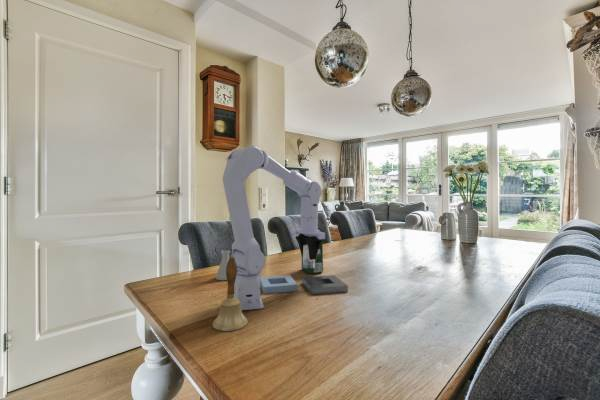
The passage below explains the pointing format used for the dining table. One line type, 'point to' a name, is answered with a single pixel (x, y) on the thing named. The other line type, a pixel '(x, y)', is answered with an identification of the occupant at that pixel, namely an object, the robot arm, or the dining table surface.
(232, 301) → the hand bell
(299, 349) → the dining table surface
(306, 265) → the steel peg
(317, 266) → the coffee jar
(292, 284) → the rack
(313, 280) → the socket block
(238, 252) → the robot arm
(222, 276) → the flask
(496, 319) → the dining table surface
